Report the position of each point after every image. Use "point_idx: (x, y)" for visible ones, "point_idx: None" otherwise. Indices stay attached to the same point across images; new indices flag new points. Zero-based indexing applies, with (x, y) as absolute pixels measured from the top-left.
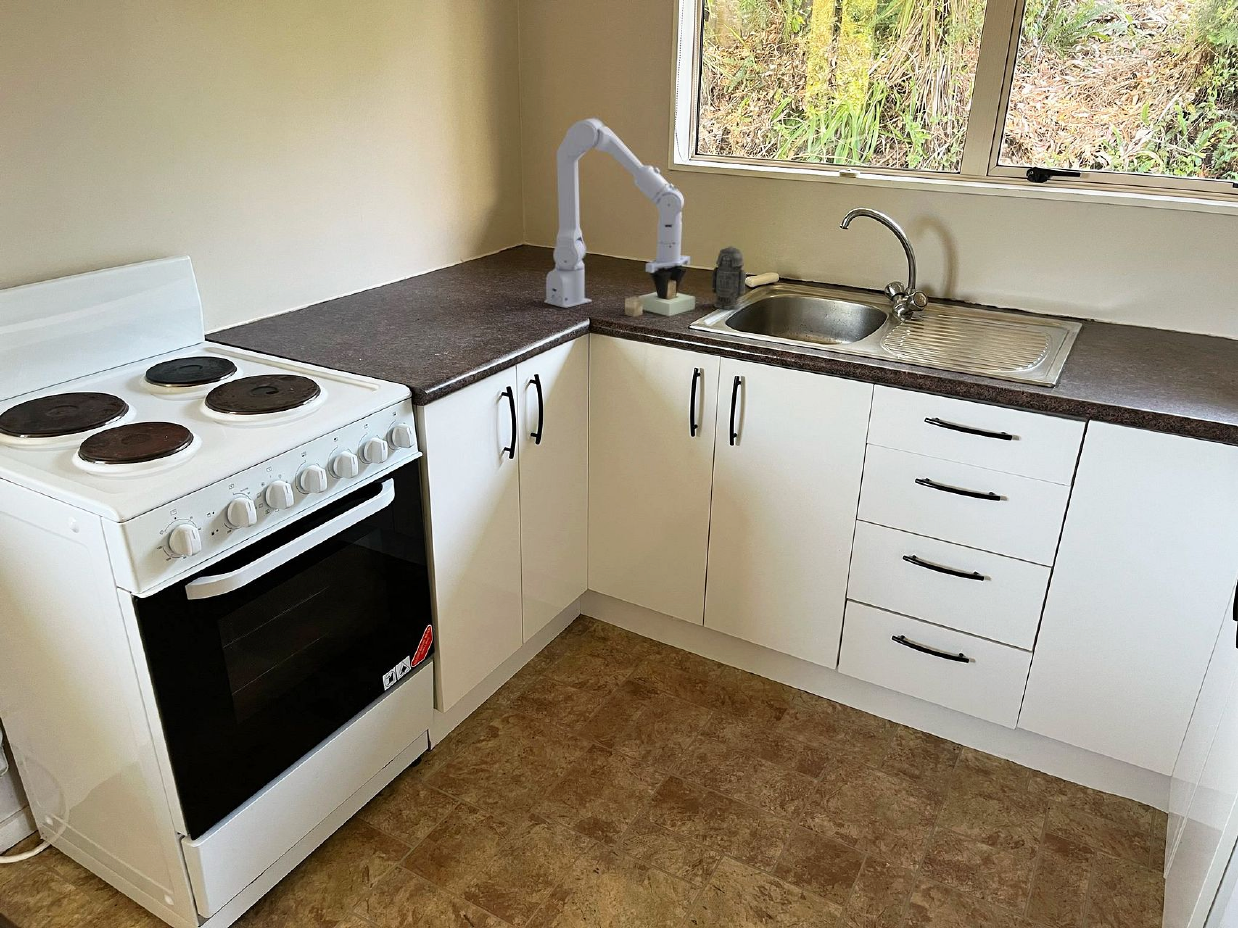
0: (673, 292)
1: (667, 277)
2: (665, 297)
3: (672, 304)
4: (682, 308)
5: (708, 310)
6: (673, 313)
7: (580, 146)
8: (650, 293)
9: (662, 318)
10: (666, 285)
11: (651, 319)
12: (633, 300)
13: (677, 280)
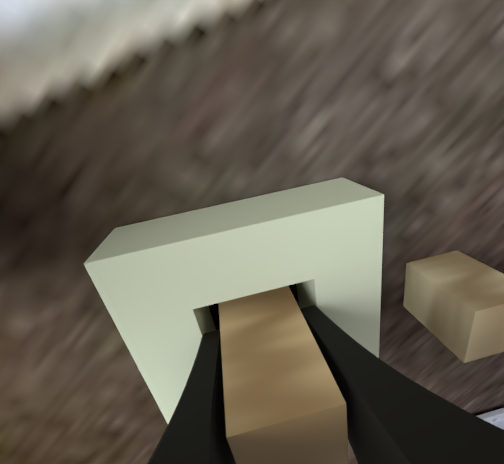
0: (245, 340)
1: (465, 447)
2: (309, 312)
3: (345, 200)
4: (231, 209)
5: (38, 157)
6: (307, 187)
7: None
8: None
9: (395, 161)
10: (369, 372)
11: (445, 176)
12: None
13: (211, 442)
